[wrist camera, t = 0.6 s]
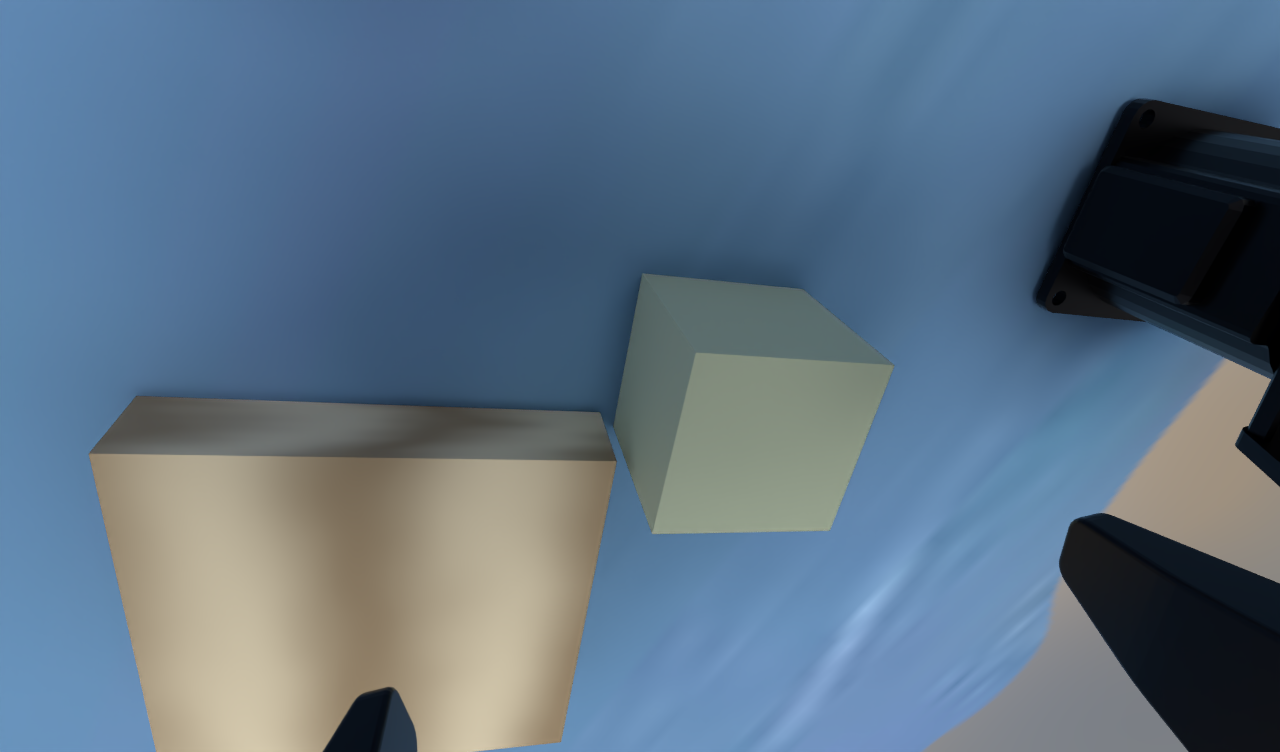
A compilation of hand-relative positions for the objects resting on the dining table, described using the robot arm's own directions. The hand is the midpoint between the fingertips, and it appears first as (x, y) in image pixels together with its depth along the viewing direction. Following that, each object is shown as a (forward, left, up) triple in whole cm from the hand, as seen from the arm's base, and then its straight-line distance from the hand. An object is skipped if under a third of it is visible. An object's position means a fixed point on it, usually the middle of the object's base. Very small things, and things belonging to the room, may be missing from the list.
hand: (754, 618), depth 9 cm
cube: (-4, +2, -12) cm, 12 cm away
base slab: (+5, +10, -12) cm, 16 cm away
